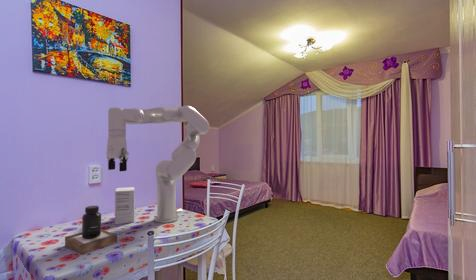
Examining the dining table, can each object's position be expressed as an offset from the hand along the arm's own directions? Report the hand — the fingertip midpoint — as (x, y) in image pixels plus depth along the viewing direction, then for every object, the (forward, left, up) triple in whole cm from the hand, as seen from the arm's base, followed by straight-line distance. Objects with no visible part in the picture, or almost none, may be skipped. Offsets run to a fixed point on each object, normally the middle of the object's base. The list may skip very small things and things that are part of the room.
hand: (117, 170), depth 122 cm
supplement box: (-10, -10, -28) cm, 32 cm away
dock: (+15, +7, -28) cm, 33 cm away
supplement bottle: (+15, +7, -25) cm, 30 cm away
